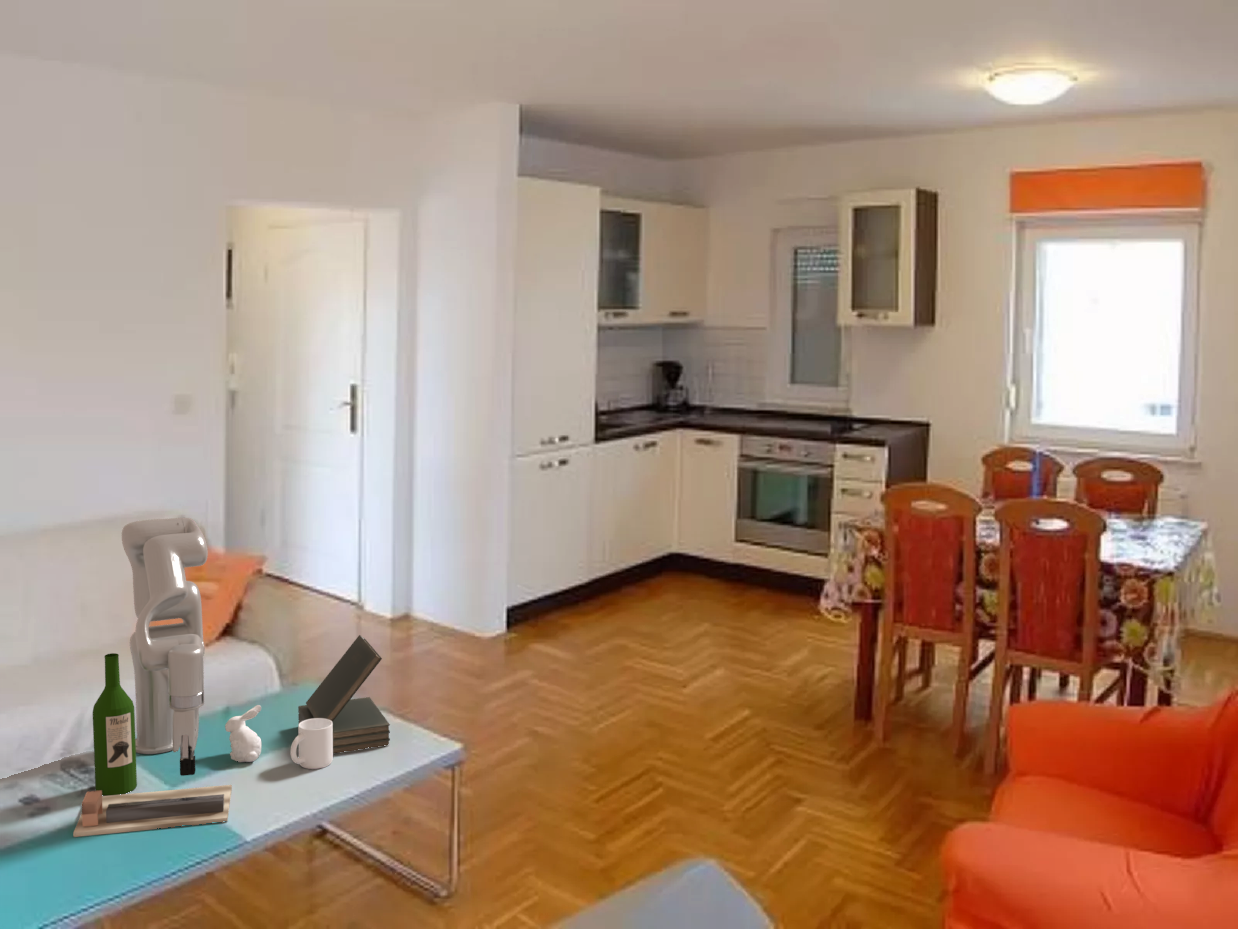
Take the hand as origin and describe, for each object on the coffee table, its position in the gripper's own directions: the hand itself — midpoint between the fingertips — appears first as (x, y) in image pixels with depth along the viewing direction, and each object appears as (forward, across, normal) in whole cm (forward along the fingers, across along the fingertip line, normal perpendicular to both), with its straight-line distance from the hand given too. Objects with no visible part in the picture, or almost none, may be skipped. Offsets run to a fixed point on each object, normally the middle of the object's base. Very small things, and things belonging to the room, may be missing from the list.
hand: (187, 773), depth 255 cm
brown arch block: (+4, +10, -19) cm, 22 cm away
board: (+6, +6, -6) cm, 10 cm away
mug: (+6, -12, +27) cm, 31 cm away
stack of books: (+7, -31, +36) cm, 48 cm away
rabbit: (+7, -22, +11) cm, 26 cm away
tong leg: (+4, +9, -4) cm, 11 cm away
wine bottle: (+7, -8, -16) cm, 20 cm away
